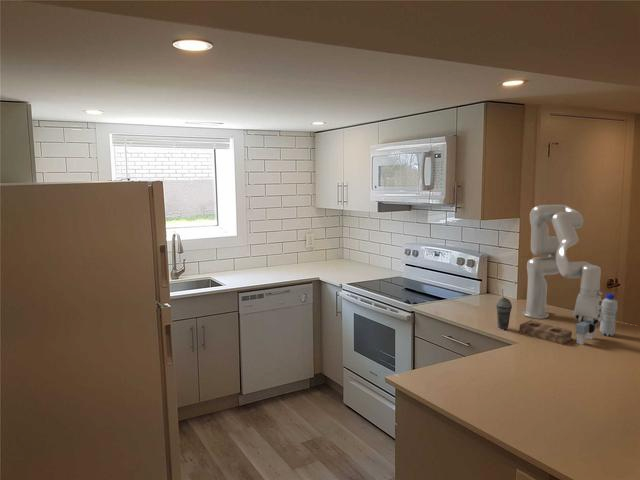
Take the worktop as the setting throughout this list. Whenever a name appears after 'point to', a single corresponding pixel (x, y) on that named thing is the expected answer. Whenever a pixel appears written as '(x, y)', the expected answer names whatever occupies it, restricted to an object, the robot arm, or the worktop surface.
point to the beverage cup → (503, 312)
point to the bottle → (608, 315)
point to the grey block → (584, 331)
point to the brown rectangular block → (545, 332)
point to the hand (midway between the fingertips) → (586, 330)
